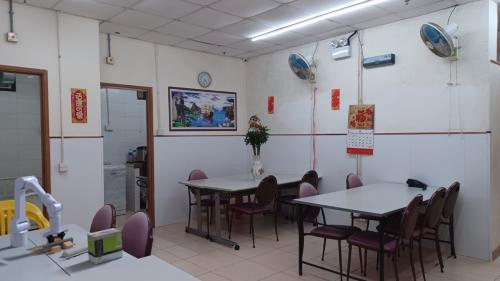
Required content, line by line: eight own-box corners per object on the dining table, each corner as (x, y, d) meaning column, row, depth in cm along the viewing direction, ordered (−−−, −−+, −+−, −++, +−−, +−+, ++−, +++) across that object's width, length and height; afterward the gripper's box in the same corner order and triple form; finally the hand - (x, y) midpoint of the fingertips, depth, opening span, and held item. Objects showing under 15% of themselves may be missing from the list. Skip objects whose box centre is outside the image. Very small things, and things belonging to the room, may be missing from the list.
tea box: (115, 253, 201) (114, 227, 200) (122, 257, 194) (122, 230, 193) (87, 260, 190) (86, 233, 190) (94, 265, 183) (94, 236, 183)
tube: (67, 254, 190) (104, 240, 212) (60, 249, 192) (98, 236, 214) (65, 262, 191) (103, 248, 213) (59, 258, 193) (97, 244, 215)
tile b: (62, 247, 207) (63, 242, 206) (68, 245, 211) (69, 240, 210) (66, 250, 205) (67, 246, 205) (72, 248, 209) (73, 244, 208)
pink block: (50, 247, 199) (54, 248, 197) (57, 245, 202) (60, 246, 201) (51, 254, 199) (54, 255, 197) (58, 252, 202) (61, 253, 201)
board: (25, 252, 205) (25, 249, 205) (58, 242, 223) (58, 240, 223) (42, 257, 196) (42, 254, 196) (76, 246, 214) (76, 244, 213)
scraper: (35, 246, 203) (36, 238, 202) (63, 238, 217) (64, 231, 216) (44, 253, 198) (45, 245, 197) (72, 244, 213) (73, 236, 212)
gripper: (46, 227, 198) (47, 251, 199) (71, 221, 211) (71, 243, 211) (39, 225, 202) (40, 249, 202) (64, 220, 214) (64, 242, 215)
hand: (56, 246), depth 207 cm, fingers closed on scraper, 4 cm apart
